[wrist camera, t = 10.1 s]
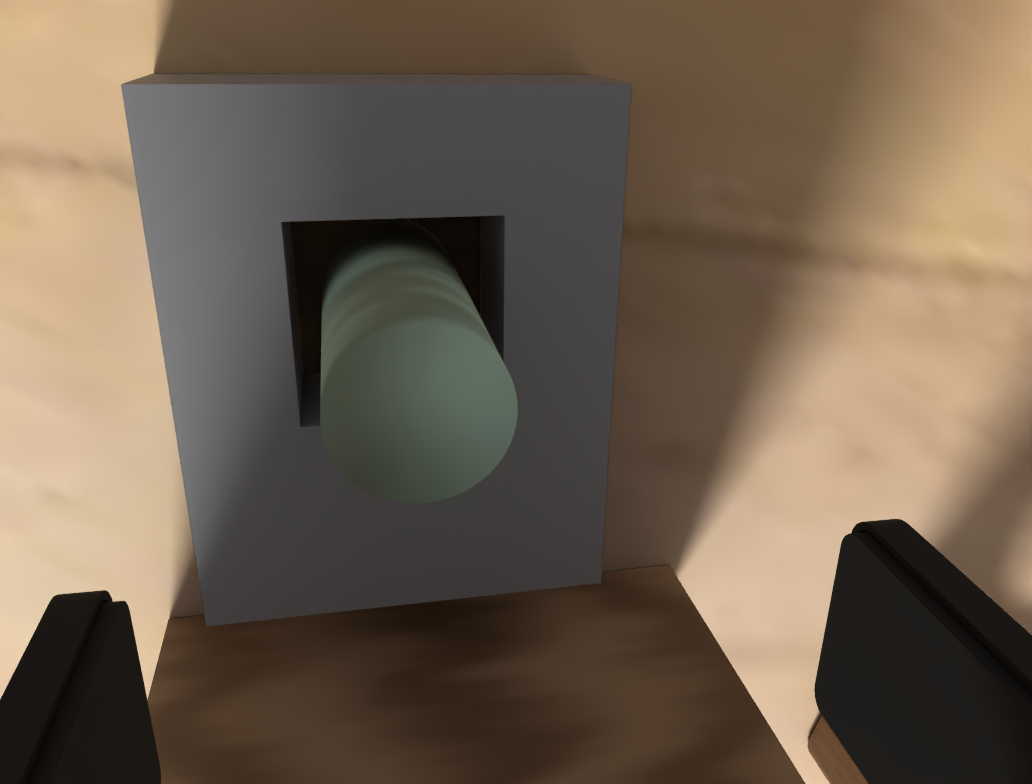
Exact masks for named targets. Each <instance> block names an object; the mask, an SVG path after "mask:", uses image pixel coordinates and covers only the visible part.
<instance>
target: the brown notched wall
mask: <svg viewBox="0 0 1032 784" xmlns="http://www.w3.org/2000/svg"><path fill="white" fill-rule="evenodd" d="M147 702H148V707H149V712H150V717H151V722H152V727H153V732H154V737H155V742H156V747H157V752H158V757H159V762H160V769H161V784H805V782H804V781H803V779H802V777H801V776H800V774H799V773H798V771H797V769H796V768H795V766H794V765H793V763H792V761H791V760H790V758H789V756H788V755H787V753H786V752H785V750H784V748H783V747H782V745H781V744H780V742H779V740H778V739H777V737H776V736H775V734H774V732H773V731H772V729H771V728H770V726H769V724H768V723H767V721H766V720H765V718H764V716H763V715H762V713H761V712H760V710H759V708H758V707H757V705H756V703H755V702H754V700H753V699H752V697H751V695H750V694H749V692H748V691H747V689H746V687H745V686H744V684H743V683H742V681H741V679H740V678H739V676H738V675H737V673H736V671H735V670H734V668H733V667H732V665H731V663H730V662H729V660H728V658H727V657H726V655H725V654H724V652H723V650H722V649H721V647H720V646H719V644H718V642H717V641H716V639H715V638H714V636H713V634H712V633H711V631H710V630H709V628H708V626H707V625H706V623H705V622H704V620H703V618H702V617H701V615H700V613H699V612H698V610H697V609H696V607H695V605H694V604H693V602H692V601H691V599H690V597H689V596H688V594H687V593H686V591H685V589H684V588H683V586H682V585H681V583H680V581H679V580H678V578H677V577H676V575H675V573H674V572H673V570H672V568H671V567H670V565H663V566H653V567H644V568H635V569H625V570H616V571H607V572H601V583H596V584H587V585H578V586H569V587H560V588H551V589H542V590H533V591H524V592H515V593H505V594H496V595H487V596H478V597H469V598H460V599H451V600H442V601H433V602H424V603H415V604H406V605H396V606H387V607H378V608H369V609H360V610H351V611H342V612H333V613H324V614H315V615H306V616H297V617H288V618H278V619H269V620H260V621H251V622H242V623H233V624H224V625H215V626H206V622H205V615H199V616H189V617H180V618H171V619H169V620H168V624H167V628H166V632H165V635H164V639H163V643H162V647H161V651H160V655H159V658H158V662H157V666H156V670H155V674H154V677H153V681H152V685H151V689H150V693H149V697H148V700H147Z"/></svg>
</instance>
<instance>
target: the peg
mask: <svg viewBox="0 0 1032 784" xmlns="http://www.w3.org/2000/svg"><path fill="white" fill-rule="evenodd" d="M517 414H518V405H517V396H516V391H515V387H514V384H513V381H512V378H511V376H510V374H509V372H508V370H507V368H506V366H505V364H504V362H503V360H502V358H501V357H500V355H499V353H498V351H497V349H496V347H495V345H494V343H493V341H492V339H491V337H490V335H489V333H488V331H487V329H486V327H485V325H484V323H483V321H482V319H481V317H480V316H479V314H478V312H477V310H476V308H475V306H474V304H473V302H472V300H471V298H470V296H469V294H468V292H467V290H466V288H465V286H464V284H463V282H462V280H461V278H460V276H459V275H458V273H457V271H456V269H455V267H454V265H453V263H452V261H451V259H450V257H449V255H448V253H447V251H446V249H445V248H444V246H443V245H442V243H441V242H440V241H439V240H438V238H437V237H436V236H435V235H434V234H432V233H431V232H430V231H429V230H428V229H426V228H424V227H423V226H421V225H419V224H417V223H415V222H413V221H410V220H407V219H403V218H398V219H369V220H366V221H363V222H361V223H359V224H357V225H355V226H353V227H351V228H350V229H349V230H347V231H346V232H345V233H344V234H343V235H341V236H340V237H339V238H338V240H337V241H336V242H335V243H334V245H333V246H332V248H331V249H330V251H329V253H328V255H327V258H326V260H325V264H324V267H323V274H322V328H321V397H320V426H321V432H322V437H323V441H324V444H325V447H326V449H327V451H328V453H329V456H330V458H331V459H332V461H333V462H334V464H335V465H336V467H337V468H338V469H339V470H340V472H341V473H342V474H343V475H344V476H345V477H346V478H347V479H348V480H350V481H351V482H352V483H353V484H354V485H356V486H357V487H359V488H360V489H362V490H364V491H365V492H367V493H369V494H372V495H374V496H376V497H379V498H382V499H385V500H388V501H393V502H398V503H409V504H418V503H429V502H436V501H440V500H444V499H448V498H450V497H453V496H456V495H458V494H460V493H462V492H464V491H466V490H468V489H470V488H472V487H473V486H475V485H476V484H477V483H479V482H480V481H482V480H483V479H484V478H485V477H486V476H487V475H489V474H490V473H491V472H492V470H493V469H494V468H495V467H496V466H497V465H498V464H499V462H500V461H501V459H502V458H503V457H504V455H505V453H506V451H507V450H508V448H509V446H510V444H511V441H512V438H513V436H514V433H515V428H516V424H517Z"/></svg>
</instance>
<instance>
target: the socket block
mask: <svg viewBox="0 0 1032 784" xmlns="http://www.w3.org/2000/svg"><path fill="white" fill-rule="evenodd" d="M121 87H122V93H123V100H124V106H125V113H126V119H127V125H128V132H129V138H130V144H131V151H132V157H133V164H134V170H135V176H136V183H137V189H138V195H139V202H140V208H141V214H142V221H143V227H144V234H145V240H146V246H147V253H148V259H149V265H150V272H151V278H152V284H153V291H154V297H155V304H156V310H157V316H158V323H159V329H160V335H161V342H162V348H163V354H164V361H165V367H166V374H167V380H168V386H169V393H170V399H171V405H172V412H173V418H174V424H175V431H176V437H177V444H178V450H179V456H180V463H181V469H182V475H183V482H184V488H185V494H186V501H187V507H188V514H189V520H190V526H191V533H192V539H193V545H194V552H195V558H196V564H197V571H198V577H199V584H200V590H201V596H202V603H203V609H204V615H205V622H206V626H215V625H224V624H233V623H242V622H251V621H260V620H269V619H278V618H288V617H297V616H306V615H315V614H324V613H333V612H342V611H351V610H360V609H369V608H378V607H387V606H396V605H406V604H415V603H424V602H433V601H442V600H451V599H460V598H469V597H478V596H487V595H496V594H505V593H515V592H524V591H533V590H542V589H551V588H560V587H569V586H578V585H587V584H596V583H601V572H602V556H603V540H604V523H605V507H606V491H607V474H608V458H609V442H610V426H611V409H612V393H613V377H614V360H615V344H616V328H617V311H618V295H619V279H620V263H621V246H622V230H623V214H624V197H625V181H626V165H627V148H628V132H629V116H630V100H631V84H629V83H625V82H620V81H616V80H611V79H607V78H602V77H598V76H594V75H589V74H150V75H147V76H144V77H141V78H139V79H136V80H133V81H130V82H127V83H124V84H121ZM468 216H480V267H481V319H482V321H483V323H484V325H485V327H486V329H487V331H488V333H489V335H490V337H491V339H492V341H493V343H494V345H495V347H496V349H497V351H498V353H499V355H500V357H501V358H502V360H503V362H504V364H505V366H506V368H507V370H508V372H509V374H510V376H511V378H512V381H513V384H514V387H515V391H516V396H517V405H518V414H517V424H516V428H515V433H514V436H513V438H512V441H511V444H510V446H509V448H508V450H507V451H506V453H505V455H504V457H503V458H502V459H501V461H500V462H499V464H498V465H497V466H496V467H495V468H494V469H493V470H492V472H491V473H490V474H489V475H487V476H486V477H485V478H484V479H483V480H482V481H480V482H479V483H477V484H476V485H475V486H473V487H472V488H470V489H468V490H466V491H464V492H462V493H460V494H458V495H456V496H453V497H450V498H448V499H444V500H440V501H436V502H429V503H418V504H409V503H398V502H393V501H388V500H385V499H382V498H379V497H376V496H374V495H372V494H369V493H367V492H365V491H364V490H362V489H360V488H359V487H357V486H356V485H354V484H353V483H352V482H351V481H350V480H348V479H347V478H346V477H345V476H344V475H343V474H342V473H341V472H340V470H339V469H338V468H337V467H336V465H335V464H334V462H333V461H332V459H331V458H330V456H329V453H328V451H327V449H326V447H325V444H324V441H323V437H322V432H321V426H320V397H321V372H309V373H304V368H303V357H302V346H301V335H300V324H299V313H298V301H297V290H296V279H295V268H294V257H293V246H292V235H291V224H290V222H294V221H329V220H363V219H398V218H433V217H468Z"/></svg>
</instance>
